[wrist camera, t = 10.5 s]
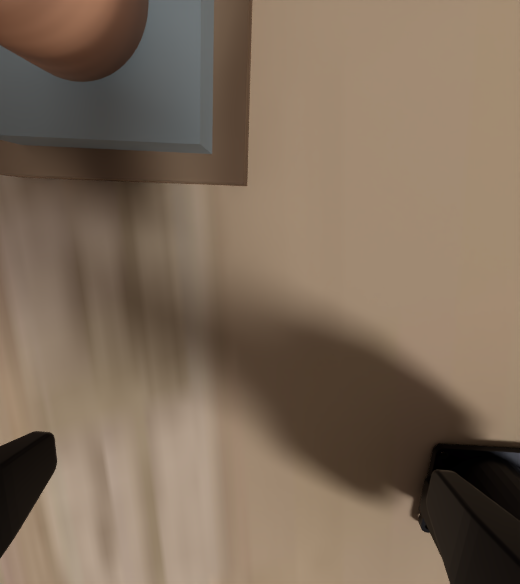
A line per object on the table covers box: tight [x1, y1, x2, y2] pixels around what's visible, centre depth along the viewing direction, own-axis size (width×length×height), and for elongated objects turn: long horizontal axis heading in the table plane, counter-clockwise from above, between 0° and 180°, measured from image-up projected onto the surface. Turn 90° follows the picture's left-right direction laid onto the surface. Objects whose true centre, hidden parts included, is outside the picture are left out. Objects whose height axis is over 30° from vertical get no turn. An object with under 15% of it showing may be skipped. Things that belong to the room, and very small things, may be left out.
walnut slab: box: [0, 0, 252, 186], centre depth 15 cm, size 12×12×2 cm
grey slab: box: [0, 0, 214, 154], centre depth 13 cm, size 9×9×2 cm
